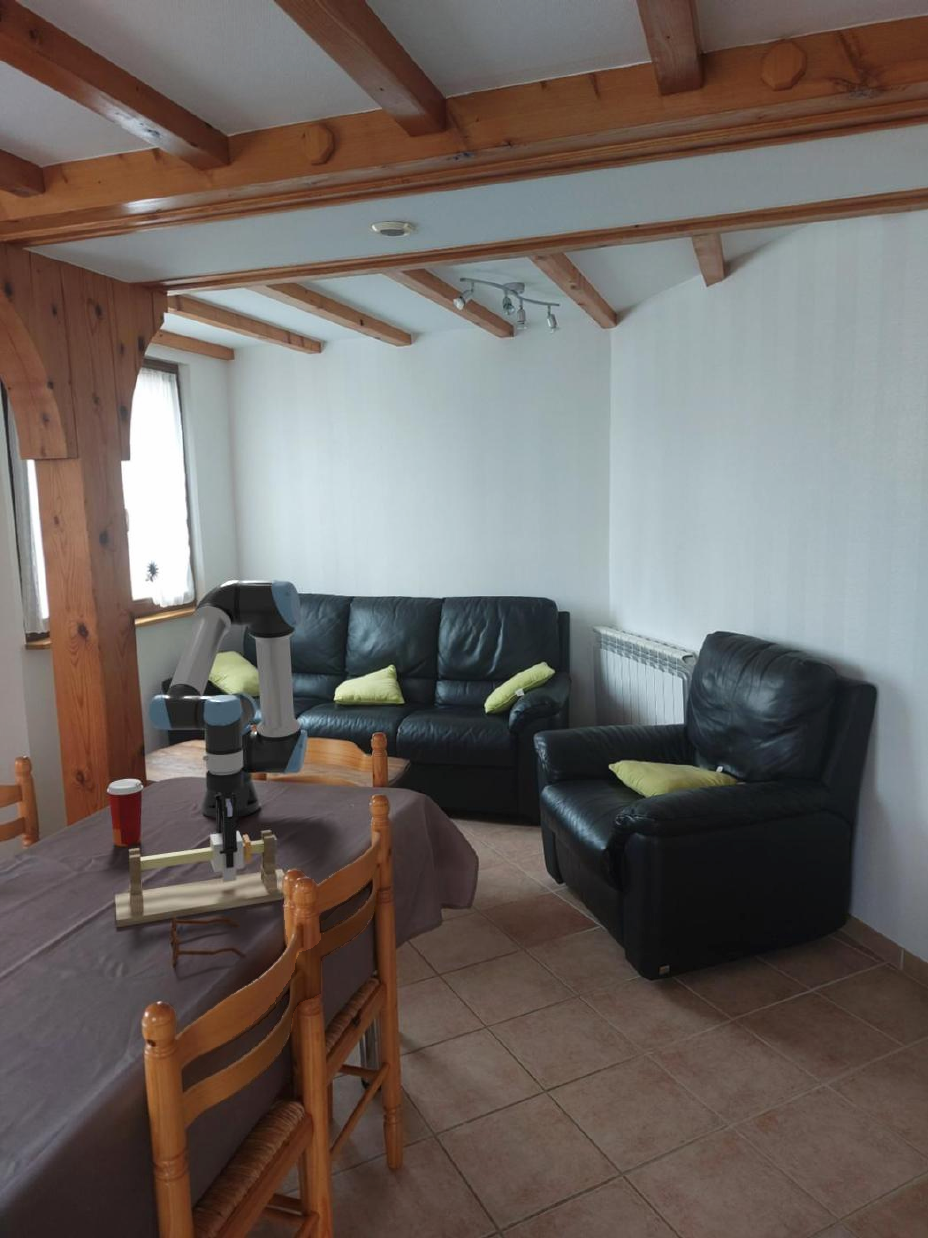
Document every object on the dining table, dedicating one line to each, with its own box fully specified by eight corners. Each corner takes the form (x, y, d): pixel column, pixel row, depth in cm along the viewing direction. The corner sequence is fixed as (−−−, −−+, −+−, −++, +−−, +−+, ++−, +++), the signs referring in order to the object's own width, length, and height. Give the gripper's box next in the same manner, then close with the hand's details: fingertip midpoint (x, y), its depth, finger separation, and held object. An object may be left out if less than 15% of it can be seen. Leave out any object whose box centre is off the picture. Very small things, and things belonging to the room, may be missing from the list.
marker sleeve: (210, 861, 185) (209, 834, 184) (239, 857, 187) (238, 830, 187) (214, 872, 180) (213, 845, 179) (243, 868, 182) (242, 841, 181)
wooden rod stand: (115, 901, 181) (112, 844, 179) (281, 875, 195) (280, 822, 193) (116, 927, 170) (114, 867, 169) (292, 897, 184) (292, 841, 182)
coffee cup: (151, 836, 216) (148, 778, 214) (135, 849, 208) (133, 789, 206) (119, 834, 217) (116, 777, 215) (102, 847, 209) (99, 788, 207)
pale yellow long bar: (132, 870, 178) (131, 850, 177) (274, 850, 189) (273, 831, 189) (133, 879, 174) (132, 858, 173) (278, 857, 185) (277, 838, 185)
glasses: (170, 937, 168) (169, 913, 167) (238, 926, 172) (238, 903, 172) (173, 972, 155) (172, 946, 155) (247, 959, 160) (246, 934, 159)
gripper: (200, 759, 188) (203, 859, 191) (211, 785, 171) (214, 896, 174) (235, 755, 191) (238, 854, 194) (250, 781, 173) (252, 889, 177)
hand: (227, 874), depth 184 cm, fingers closed on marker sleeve, 6 cm apart
